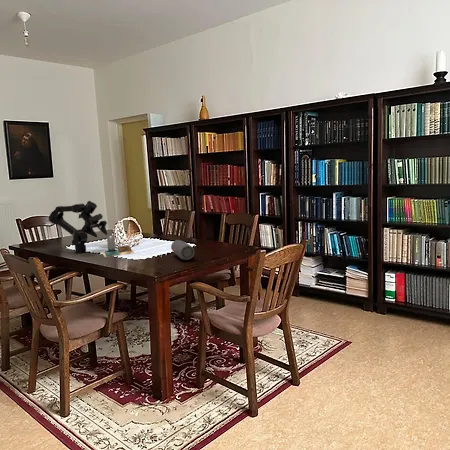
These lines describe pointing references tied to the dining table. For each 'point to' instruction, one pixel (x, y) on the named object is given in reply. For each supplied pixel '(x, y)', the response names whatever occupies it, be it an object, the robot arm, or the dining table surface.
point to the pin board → (119, 251)
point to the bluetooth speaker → (182, 250)
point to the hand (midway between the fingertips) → (102, 235)
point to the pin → (111, 243)
